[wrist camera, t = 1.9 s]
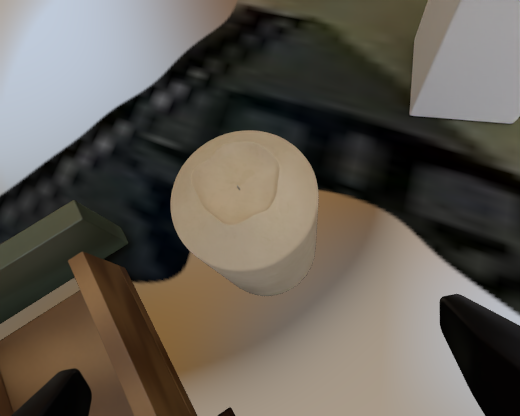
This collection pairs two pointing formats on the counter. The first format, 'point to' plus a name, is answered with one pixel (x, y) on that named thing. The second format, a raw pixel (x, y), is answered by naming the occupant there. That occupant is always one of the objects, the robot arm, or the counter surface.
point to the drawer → (82, 321)
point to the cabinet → (227, 412)
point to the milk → (467, 61)
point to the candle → (249, 210)
